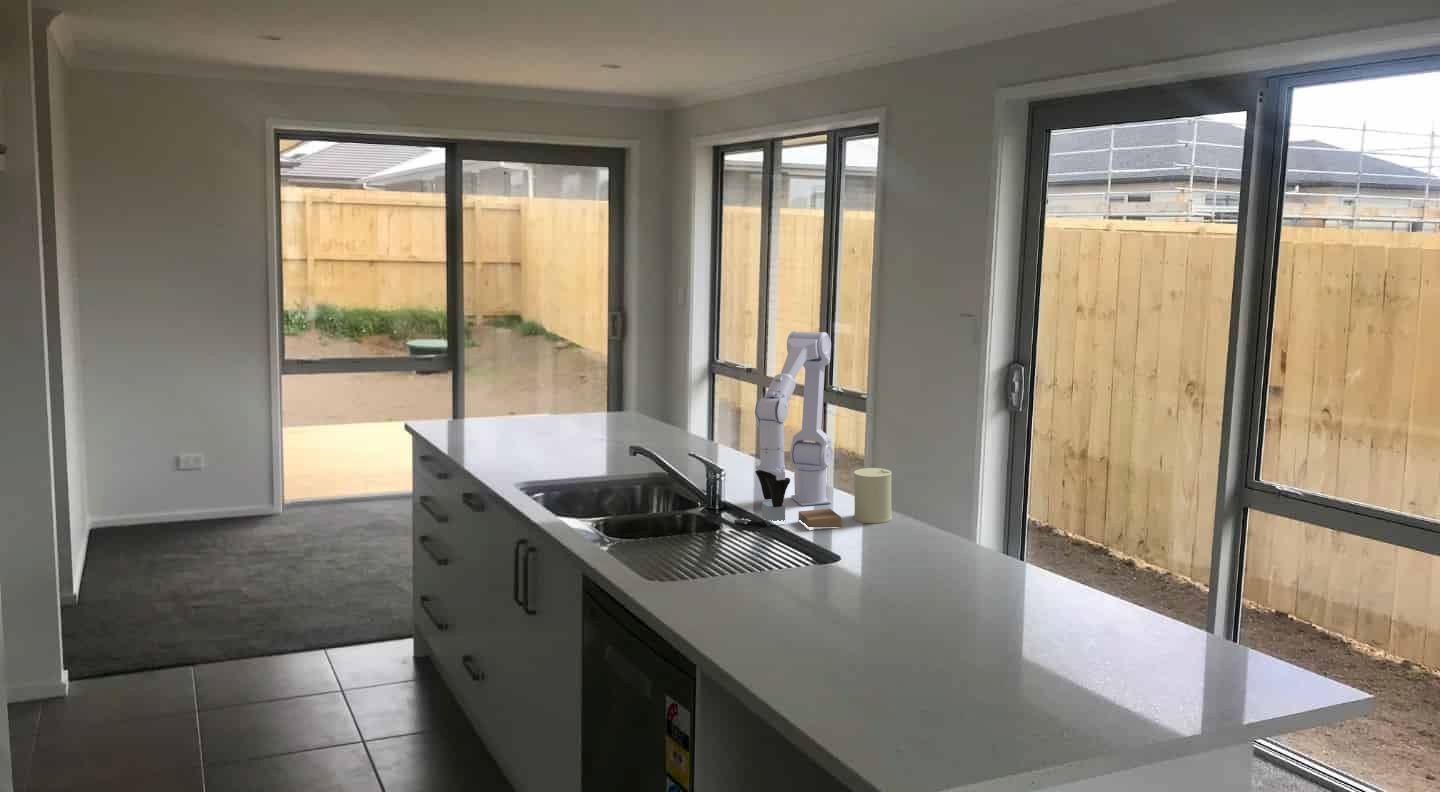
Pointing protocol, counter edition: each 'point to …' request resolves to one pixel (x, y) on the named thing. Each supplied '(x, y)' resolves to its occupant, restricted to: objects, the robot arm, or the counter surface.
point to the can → (872, 495)
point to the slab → (820, 518)
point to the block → (773, 511)
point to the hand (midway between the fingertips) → (773, 502)
